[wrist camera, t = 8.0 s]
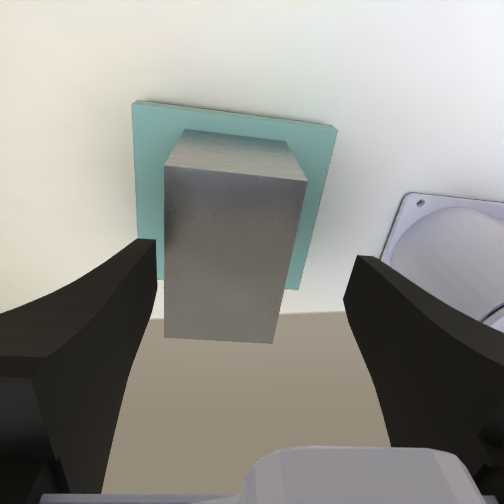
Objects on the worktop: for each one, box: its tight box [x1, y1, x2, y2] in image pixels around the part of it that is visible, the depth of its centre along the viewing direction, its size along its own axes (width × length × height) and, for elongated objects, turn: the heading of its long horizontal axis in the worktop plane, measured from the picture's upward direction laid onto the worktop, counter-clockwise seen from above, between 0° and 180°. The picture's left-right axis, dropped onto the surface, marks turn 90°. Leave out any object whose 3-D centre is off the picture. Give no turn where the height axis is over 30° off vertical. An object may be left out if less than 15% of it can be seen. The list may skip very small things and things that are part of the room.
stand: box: [132, 100, 338, 290], centre depth 20 cm, size 10×10×2 cm
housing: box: [164, 129, 308, 344], centre depth 17 cm, size 9×5×6 cm, turn 173°
